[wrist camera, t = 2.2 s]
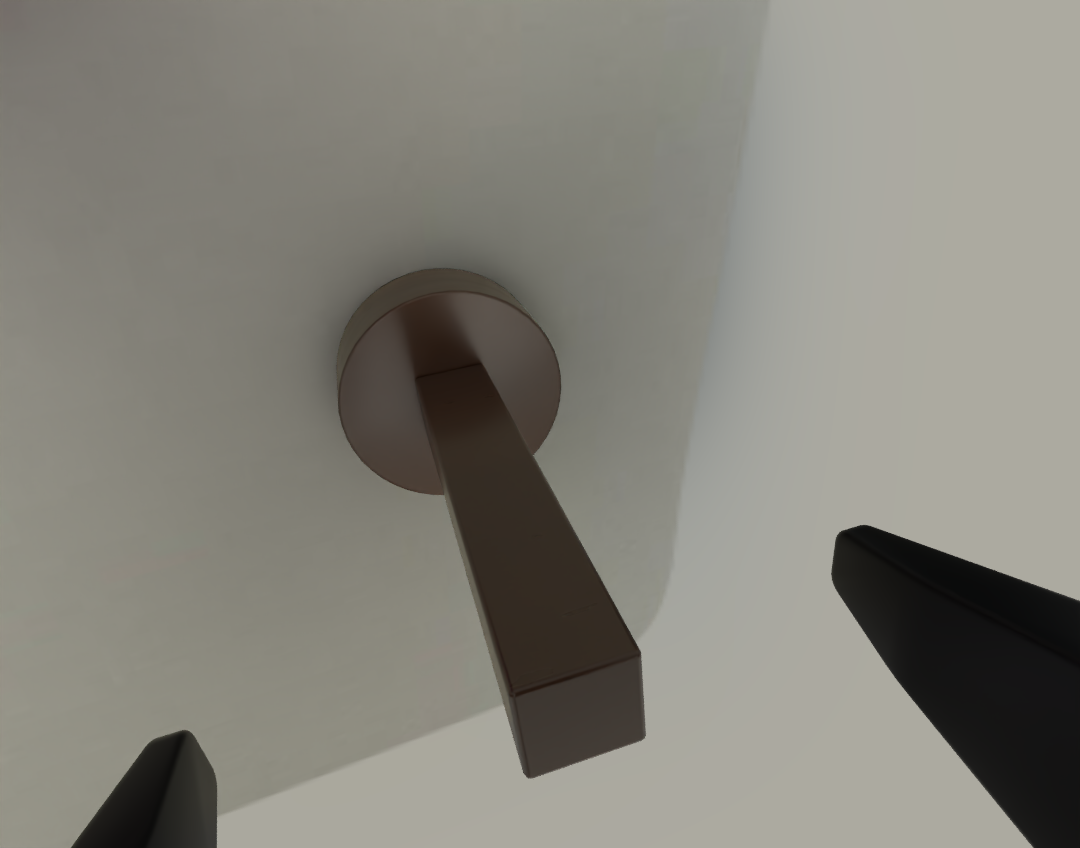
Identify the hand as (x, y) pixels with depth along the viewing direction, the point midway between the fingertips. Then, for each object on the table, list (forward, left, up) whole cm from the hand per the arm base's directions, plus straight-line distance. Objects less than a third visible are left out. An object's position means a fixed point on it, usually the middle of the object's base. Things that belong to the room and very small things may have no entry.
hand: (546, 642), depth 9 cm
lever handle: (0, 0, -10) cm, 10 cm away
